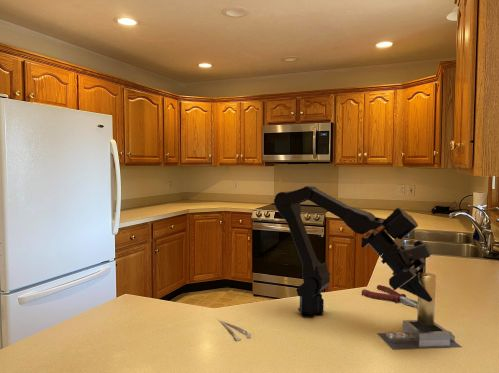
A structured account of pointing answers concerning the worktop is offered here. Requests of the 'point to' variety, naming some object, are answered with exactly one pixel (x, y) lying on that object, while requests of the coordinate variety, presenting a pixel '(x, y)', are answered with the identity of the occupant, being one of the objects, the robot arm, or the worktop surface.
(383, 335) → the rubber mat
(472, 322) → the worktop surface
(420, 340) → the grey framed plate
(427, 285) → the amber cylinder
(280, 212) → the robot arm
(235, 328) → the tweezers
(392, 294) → the pliers
